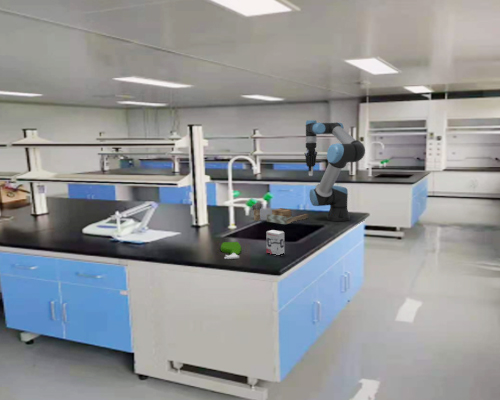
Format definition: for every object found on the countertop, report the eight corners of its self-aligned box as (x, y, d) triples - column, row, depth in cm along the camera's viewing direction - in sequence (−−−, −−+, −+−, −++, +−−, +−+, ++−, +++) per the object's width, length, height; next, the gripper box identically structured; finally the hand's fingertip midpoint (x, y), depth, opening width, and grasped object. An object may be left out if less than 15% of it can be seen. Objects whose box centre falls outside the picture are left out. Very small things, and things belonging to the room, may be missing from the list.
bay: (307, 218, 321) (307, 211, 320) (285, 224, 302) (285, 217, 301) (289, 215, 331) (289, 208, 330) (266, 221, 312) (266, 214, 311)
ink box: (265, 253, 233) (265, 231, 232) (272, 251, 237) (271, 229, 235) (278, 256, 228) (278, 233, 226) (285, 254, 231) (284, 231, 229)
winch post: (261, 220, 316) (261, 200, 314) (257, 221, 313) (257, 201, 311) (255, 219, 321) (254, 199, 318) (250, 220, 317) (250, 200, 315)
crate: (291, 221, 312) (291, 209, 311) (282, 223, 305) (282, 211, 304) (280, 219, 318) (280, 208, 317) (272, 221, 311) (271, 210, 310)
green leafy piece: (240, 246, 249) (243, 260, 225) (220, 247, 248) (221, 261, 224) (240, 241, 248) (243, 254, 224) (220, 242, 247) (221, 255, 223)
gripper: (311, 142, 327) (311, 174, 331) (301, 142, 318) (301, 176, 321) (320, 142, 322) (320, 175, 326) (310, 142, 313) (310, 176, 316)
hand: (310, 175), depth 324 cm, fingers closed
